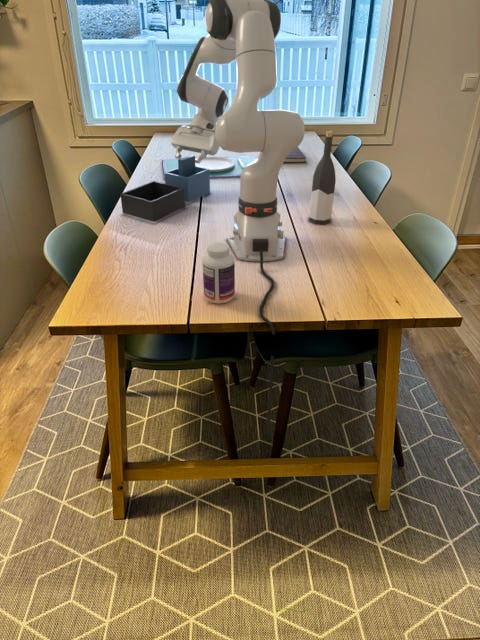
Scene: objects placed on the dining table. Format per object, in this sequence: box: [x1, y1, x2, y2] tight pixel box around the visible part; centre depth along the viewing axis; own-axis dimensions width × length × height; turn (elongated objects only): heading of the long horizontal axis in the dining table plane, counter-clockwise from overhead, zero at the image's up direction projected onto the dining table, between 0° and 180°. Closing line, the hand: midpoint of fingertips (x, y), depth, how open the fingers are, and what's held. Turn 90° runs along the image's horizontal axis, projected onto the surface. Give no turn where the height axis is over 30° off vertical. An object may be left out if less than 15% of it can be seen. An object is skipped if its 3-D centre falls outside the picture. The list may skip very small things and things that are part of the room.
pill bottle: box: [201, 241, 236, 304], centre depth 119 cm, size 8×8×14 cm
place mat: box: [162, 155, 257, 179], centre depth 217 cm, size 45×30×2 cm
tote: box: [119, 180, 186, 223], centre depth 170 cm, size 18×15×8 cm
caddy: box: [164, 154, 211, 203], centre depth 182 cm, size 14×11×15 cm
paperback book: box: [283, 146, 307, 164], centre depth 234 cm, size 16×23×2 cm
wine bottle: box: [308, 130, 337, 225], centre depth 159 cm, size 8×8×30 cm
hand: (187, 160), depth 178 cm, fingers open, 8 cm apart
